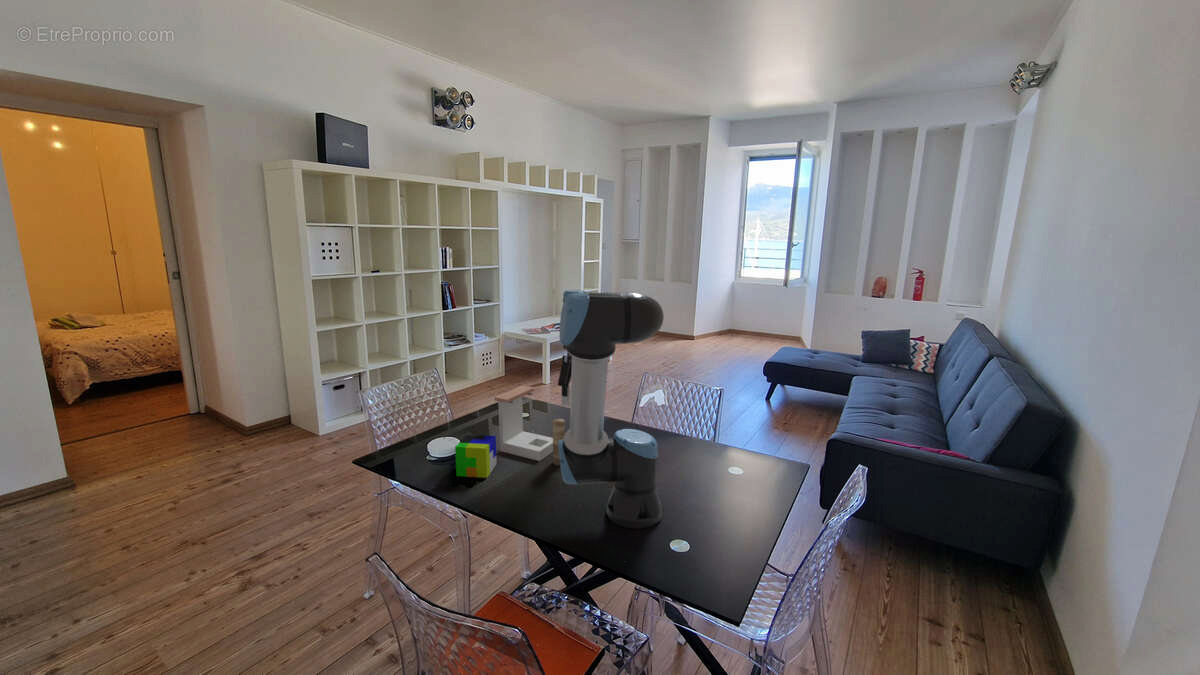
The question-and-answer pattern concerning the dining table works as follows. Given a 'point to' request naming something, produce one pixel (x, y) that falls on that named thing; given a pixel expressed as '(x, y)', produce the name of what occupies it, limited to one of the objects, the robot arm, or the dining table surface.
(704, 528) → the dining table surface
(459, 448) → the puzzle toy
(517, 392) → the wood-topped pedestal
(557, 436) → the dowel
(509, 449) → the socket board
